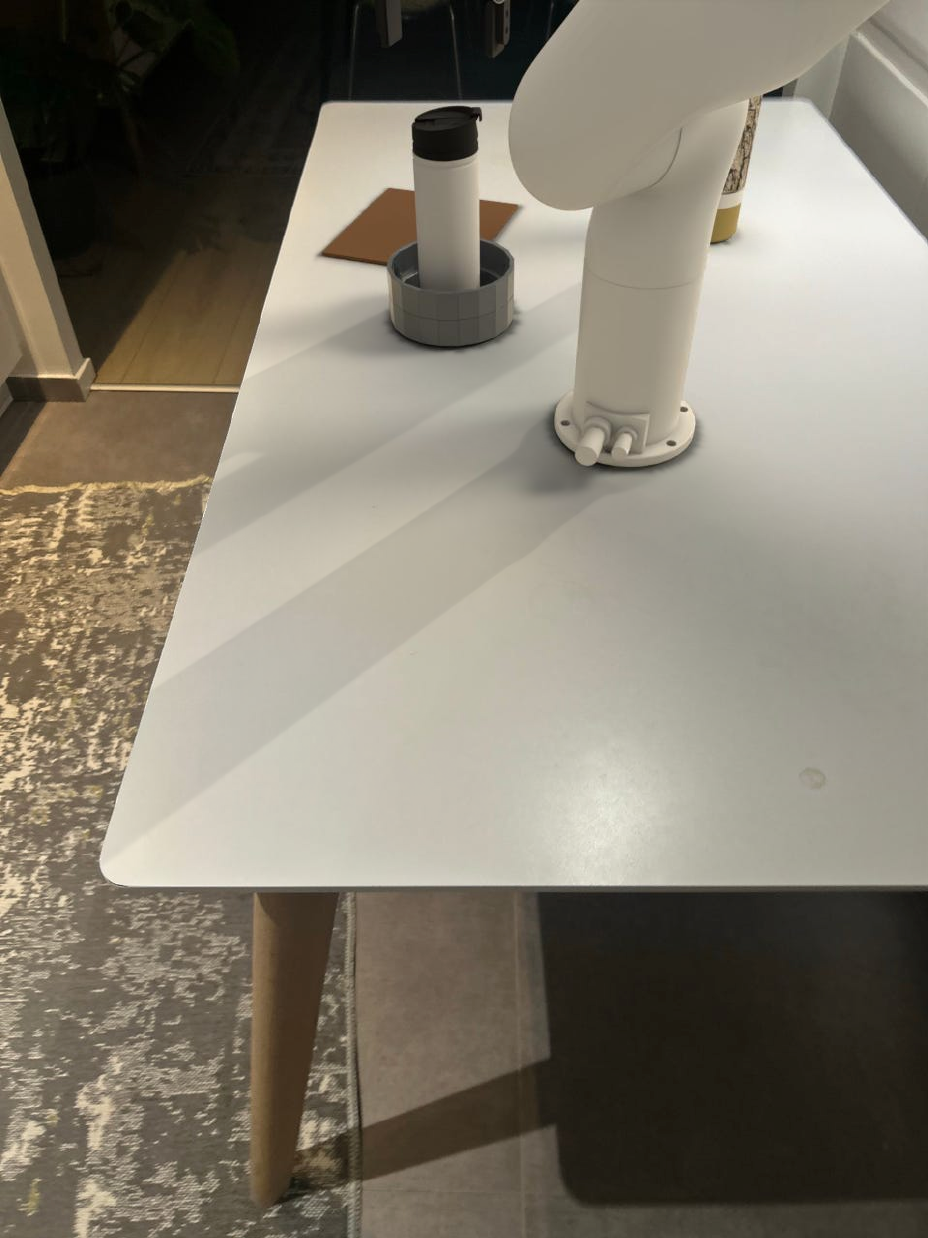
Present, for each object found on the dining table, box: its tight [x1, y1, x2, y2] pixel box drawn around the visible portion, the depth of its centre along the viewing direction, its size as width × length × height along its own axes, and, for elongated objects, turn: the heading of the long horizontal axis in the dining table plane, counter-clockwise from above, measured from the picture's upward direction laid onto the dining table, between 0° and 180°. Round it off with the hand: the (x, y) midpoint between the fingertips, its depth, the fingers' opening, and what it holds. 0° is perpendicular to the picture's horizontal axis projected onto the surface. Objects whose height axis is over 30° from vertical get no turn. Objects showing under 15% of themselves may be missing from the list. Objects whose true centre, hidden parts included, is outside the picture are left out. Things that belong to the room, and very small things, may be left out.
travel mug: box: [411, 105, 483, 291], centre depth 91 cm, size 6×7×20 cm
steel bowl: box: [386, 238, 515, 347], centre depth 96 cm, size 13×13×6 cm
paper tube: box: [710, 94, 764, 243], centre depth 102 cm, size 7×7×25 cm
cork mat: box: [321, 187, 519, 266], centre depth 113 cm, size 20×18×1 cm
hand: (442, 47), depth 80 cm, fingers open, 9 cm apart
